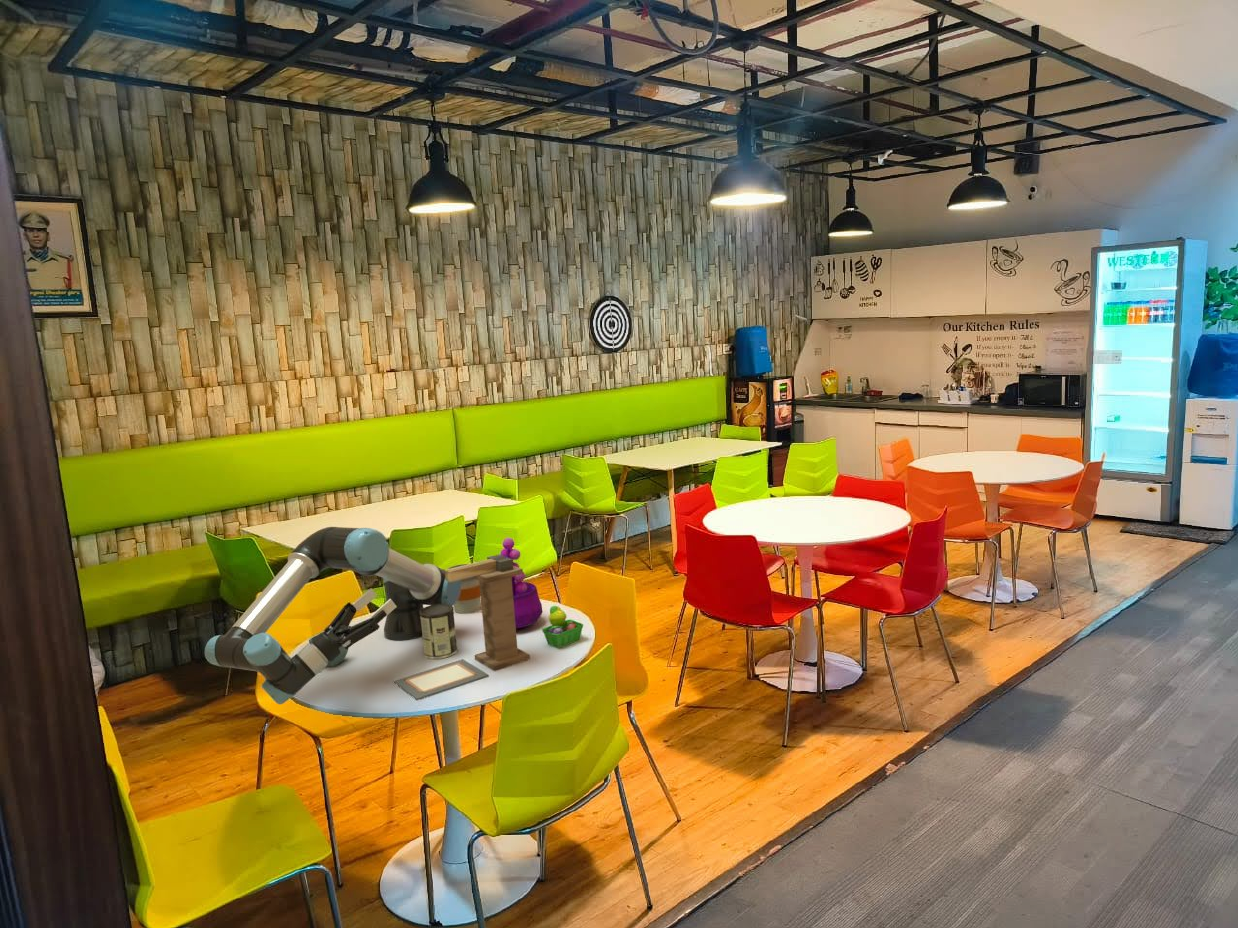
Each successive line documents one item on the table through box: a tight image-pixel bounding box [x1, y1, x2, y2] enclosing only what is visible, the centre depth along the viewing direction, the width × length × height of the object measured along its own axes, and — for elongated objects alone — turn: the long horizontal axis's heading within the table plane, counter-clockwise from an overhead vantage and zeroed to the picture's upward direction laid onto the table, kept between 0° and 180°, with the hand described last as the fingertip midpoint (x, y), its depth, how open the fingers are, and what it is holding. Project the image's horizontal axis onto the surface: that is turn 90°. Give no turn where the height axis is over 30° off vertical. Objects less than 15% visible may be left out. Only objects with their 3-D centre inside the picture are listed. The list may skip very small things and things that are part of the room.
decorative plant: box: [499, 537, 543, 629], centre depth 279 cm, size 19×18×30 cm
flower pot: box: [308, 630, 349, 667], centre depth 258 cm, size 9×9×9 cm
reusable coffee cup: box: [447, 563, 481, 615], centre depth 300 cm, size 13×13×15 cm
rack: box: [473, 566, 531, 672], centre depth 251 cm, size 12×12×28 cm
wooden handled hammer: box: [444, 553, 514, 582], centre depth 245 cm, size 8×19×3 cm, turn 127°
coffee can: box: [419, 604, 458, 660], centre depth 261 cm, size 10×10×14 cm
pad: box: [392, 658, 490, 701], centre depth 241 cm, size 16×22×1 cm
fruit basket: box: [541, 605, 584, 649], centre depth 264 cm, size 11×9×11 cm
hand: (383, 596), depth 229 cm, fingers open, 13 cm apart
